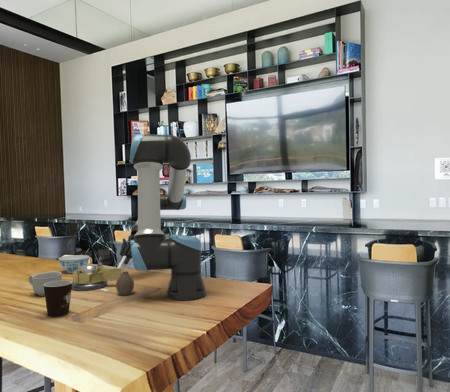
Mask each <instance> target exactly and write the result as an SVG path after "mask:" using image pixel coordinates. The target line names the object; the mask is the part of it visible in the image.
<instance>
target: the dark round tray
mask: <svg viewBox="0 0 450 392" xmlns="http://www.w3.org/2000/svg"><path fill="white" fill-rule="evenodd" d="M92 270H97V264H87V265H84V266H82V273H92ZM108 283H109V281H101V282H97V283H90V284H77V283H74V282H73V281H72V290H71V291H75V292H76V291H77V292H88V291H95V290H99V289H105V288H106V287H107V286H108Z"/></svg>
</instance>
